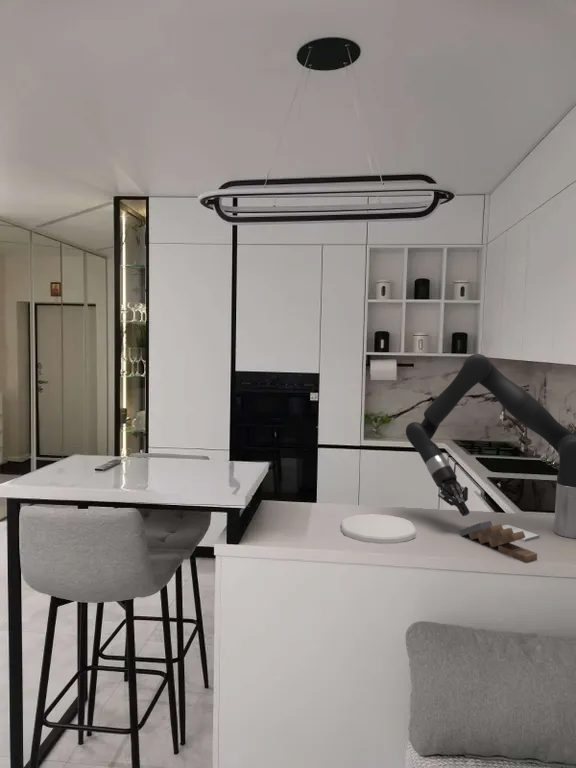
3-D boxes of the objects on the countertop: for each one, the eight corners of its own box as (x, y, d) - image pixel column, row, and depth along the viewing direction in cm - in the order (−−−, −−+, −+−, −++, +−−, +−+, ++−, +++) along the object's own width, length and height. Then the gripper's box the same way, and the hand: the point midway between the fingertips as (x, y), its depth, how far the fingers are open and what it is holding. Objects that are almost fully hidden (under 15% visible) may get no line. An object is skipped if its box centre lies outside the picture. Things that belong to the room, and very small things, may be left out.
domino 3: (478, 537, 182) (500, 530, 174) (488, 535, 185) (511, 527, 177) (480, 544, 181) (502, 536, 174) (491, 541, 184) (513, 534, 176)
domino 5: (498, 545, 175) (526, 556, 167) (509, 542, 178) (537, 553, 169) (498, 551, 176) (525, 563, 167) (509, 549, 178) (536, 560, 169)
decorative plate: (408, 509, 204) (422, 533, 179) (408, 521, 204) (422, 546, 180) (339, 507, 205) (343, 531, 180) (339, 518, 205) (343, 543, 181)
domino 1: (459, 530, 189) (479, 522, 181) (469, 528, 192) (490, 520, 184) (461, 536, 188) (482, 529, 181) (471, 534, 191) (493, 527, 183)
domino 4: (488, 541, 179) (511, 533, 171) (499, 538, 181) (522, 530, 173) (491, 547, 178) (514, 540, 170) (502, 545, 180) (525, 537, 172)
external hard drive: (524, 544, 184) (492, 532, 195) (539, 539, 189) (507, 528, 199) (524, 539, 184) (492, 527, 195) (540, 534, 189) (508, 523, 199)
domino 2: (468, 533, 186) (490, 526, 178) (479, 531, 188) (501, 524, 180) (470, 540, 185) (492, 532, 177) (481, 537, 187) (503, 530, 180)
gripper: (432, 466, 193) (459, 511, 183) (460, 463, 200) (486, 506, 190) (421, 478, 198) (446, 523, 188) (448, 474, 205) (473, 517, 195)
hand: (466, 514), depth 189 cm, fingers closed
